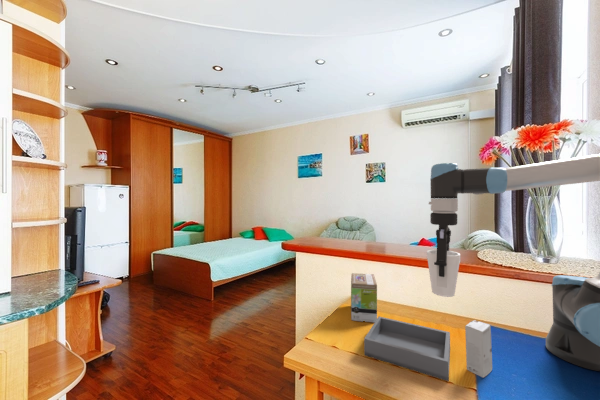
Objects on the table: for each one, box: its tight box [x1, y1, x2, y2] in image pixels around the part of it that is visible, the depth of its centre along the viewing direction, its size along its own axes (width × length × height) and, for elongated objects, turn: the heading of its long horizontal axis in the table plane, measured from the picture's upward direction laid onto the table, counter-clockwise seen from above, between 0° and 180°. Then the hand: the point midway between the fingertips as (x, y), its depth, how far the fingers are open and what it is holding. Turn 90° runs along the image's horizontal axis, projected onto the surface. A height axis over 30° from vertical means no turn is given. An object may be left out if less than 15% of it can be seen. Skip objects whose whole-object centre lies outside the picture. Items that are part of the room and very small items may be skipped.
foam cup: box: [426, 249, 461, 298], centre depth 82 cm, size 10×9×13 cm
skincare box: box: [464, 319, 493, 378], centre depth 70 cm, size 6×4×12 cm
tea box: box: [350, 272, 378, 323], centre depth 105 cm, size 15×10×15 cm, turn 168°
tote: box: [363, 316, 451, 382], centre depth 78 cm, size 22×17×5 cm
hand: (443, 281), depth 82 cm, fingers closed on foam cup, 9 cm apart
